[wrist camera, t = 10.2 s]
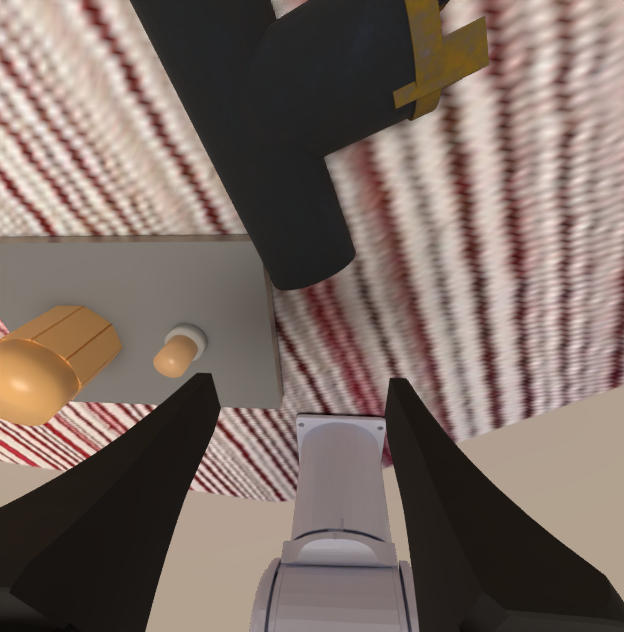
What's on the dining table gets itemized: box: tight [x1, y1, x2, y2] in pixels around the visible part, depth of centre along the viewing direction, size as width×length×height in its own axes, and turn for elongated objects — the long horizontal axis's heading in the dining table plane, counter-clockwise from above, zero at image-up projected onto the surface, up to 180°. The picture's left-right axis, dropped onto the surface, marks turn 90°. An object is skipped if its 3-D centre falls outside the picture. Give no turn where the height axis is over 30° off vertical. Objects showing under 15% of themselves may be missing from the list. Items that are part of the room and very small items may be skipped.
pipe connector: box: [130, 0, 489, 290], centre depth 12 cm, size 12×5×15 cm
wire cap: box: [0, 306, 122, 426], centre depth 19 cm, size 5×5×6 cm
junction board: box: [0, 234, 283, 409], centre depth 20 cm, size 14×20×4 cm
